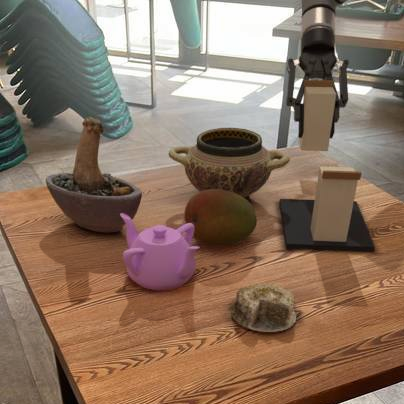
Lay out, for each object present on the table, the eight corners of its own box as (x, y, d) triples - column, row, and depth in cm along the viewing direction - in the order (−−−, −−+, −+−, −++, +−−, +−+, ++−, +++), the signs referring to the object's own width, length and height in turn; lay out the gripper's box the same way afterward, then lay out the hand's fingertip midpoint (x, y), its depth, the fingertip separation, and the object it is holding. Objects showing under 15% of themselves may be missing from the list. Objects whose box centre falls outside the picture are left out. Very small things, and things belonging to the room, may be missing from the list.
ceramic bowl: (284, 203, 127) (292, 130, 120) (284, 217, 111) (293, 134, 104) (176, 195, 129) (177, 123, 123) (160, 208, 113) (161, 127, 107)
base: (355, 205, 120) (369, 136, 111) (373, 251, 104) (391, 175, 95) (279, 203, 120) (286, 133, 111) (286, 248, 105) (295, 172, 96)
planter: (145, 240, 106) (139, 130, 93) (53, 249, 103) (34, 135, 90) (134, 207, 117) (128, 104, 105) (51, 214, 114) (34, 108, 102)
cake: (222, 307, 91) (223, 276, 87) (279, 298, 93) (282, 267, 90) (245, 339, 83) (247, 306, 80) (307, 328, 85) (311, 296, 82)
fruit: (175, 237, 107) (174, 186, 101) (228, 221, 113) (230, 171, 107) (212, 263, 100) (213, 209, 94) (266, 244, 106) (271, 192, 99)
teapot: (198, 296, 92) (199, 246, 86) (113, 293, 92) (108, 243, 87) (201, 259, 101) (202, 212, 95) (124, 256, 101) (120, 209, 96)
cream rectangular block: (325, 142, 133) (334, 80, 124) (328, 151, 128) (338, 87, 119) (297, 141, 133) (304, 79, 125) (300, 150, 128) (307, 87, 120)
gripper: (356, 48, 132) (355, 144, 129) (273, 47, 132) (271, 142, 130) (364, 26, 124) (364, 127, 122) (277, 24, 125) (274, 125, 122)
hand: (316, 134), depth 126 cm, fingers closed on cream rectangular block, 6 cm apart
